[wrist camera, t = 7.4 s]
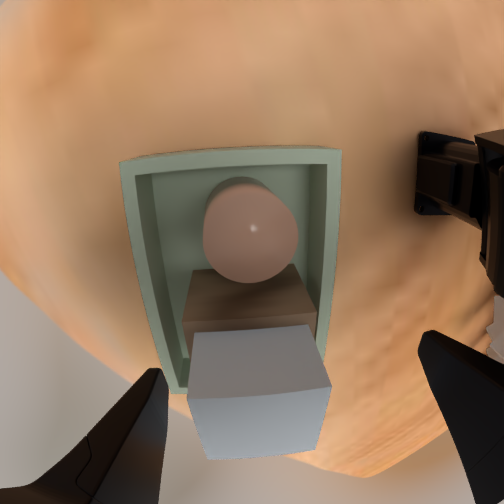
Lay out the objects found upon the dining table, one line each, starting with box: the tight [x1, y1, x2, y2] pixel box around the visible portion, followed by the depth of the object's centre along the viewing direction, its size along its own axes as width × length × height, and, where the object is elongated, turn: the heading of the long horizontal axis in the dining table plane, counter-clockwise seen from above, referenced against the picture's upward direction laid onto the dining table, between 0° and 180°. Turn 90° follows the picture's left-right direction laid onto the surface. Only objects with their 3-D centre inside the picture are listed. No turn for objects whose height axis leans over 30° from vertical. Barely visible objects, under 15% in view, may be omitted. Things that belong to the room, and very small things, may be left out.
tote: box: [119, 146, 342, 394], centre depth 19 cm, size 12×17×4 cm
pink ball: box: [203, 176, 298, 283], centre depth 16 cm, size 5×5×5 cm
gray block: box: [187, 324, 332, 459], centre depth 14 cm, size 6×6×4 cm
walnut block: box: [182, 263, 317, 363], centre depth 19 cm, size 7×7×6 cm
